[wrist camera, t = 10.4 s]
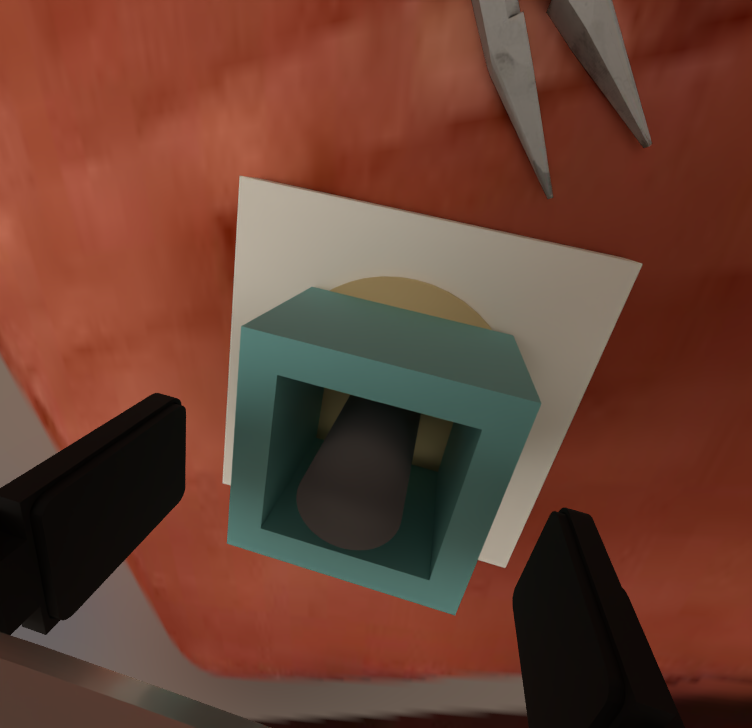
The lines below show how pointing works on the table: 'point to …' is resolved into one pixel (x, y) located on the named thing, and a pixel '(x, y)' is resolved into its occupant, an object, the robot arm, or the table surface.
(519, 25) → the pliers
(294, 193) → the post stand
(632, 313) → the table surface
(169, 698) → the robot arm
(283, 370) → the collar
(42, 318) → the table surface
